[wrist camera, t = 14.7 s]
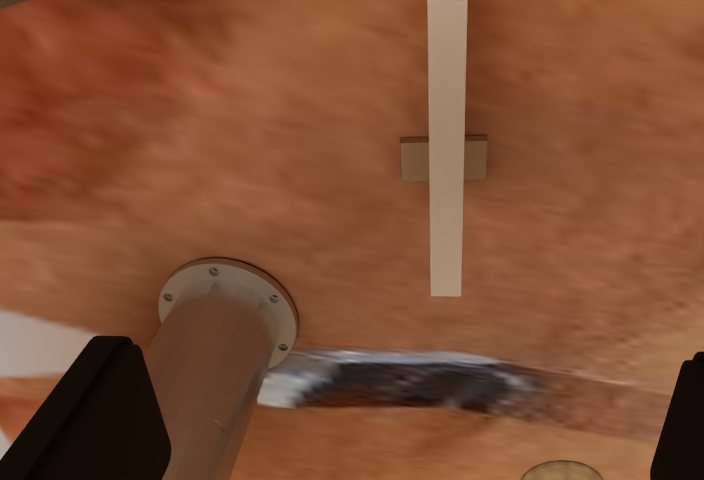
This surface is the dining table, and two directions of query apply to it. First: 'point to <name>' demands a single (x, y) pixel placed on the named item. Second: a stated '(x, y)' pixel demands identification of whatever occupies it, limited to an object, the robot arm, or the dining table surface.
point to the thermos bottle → (9, 2)
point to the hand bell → (562, 471)
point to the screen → (445, 144)
